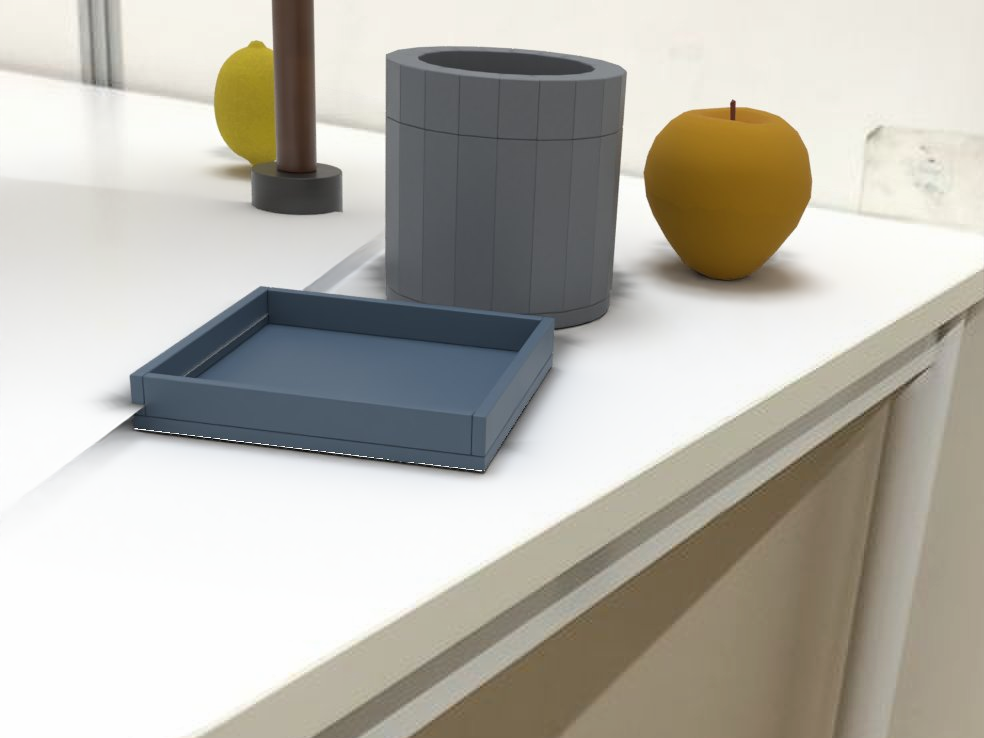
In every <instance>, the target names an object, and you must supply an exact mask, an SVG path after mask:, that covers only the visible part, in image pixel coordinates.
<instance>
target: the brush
mask: <svg viewBox="0 0 984 738" xmlns="http://www.w3.org/2000/svg"><path fill="white" fill-rule="evenodd" d="M271 24H272V25H271V26H272V50H273V64H274V99H275V133H276V160H275V161H274V162H266V163H260V164H257V165H254V166H252V165H251V167H250V188H251V205H252V206H253V208H255V209H257V210H260V211H264V212H268V213H272V214H281V215H293V216H314V215H325V214H326V215H327V214H331V213H336V212H337V213H343V212H344V210H343V209H344V207H343V206H344V203H343V201H344V199H343V198H344V197H343V170H342V169H341V168H339V167H337V166H334V165H331V164H328V163H327V164H326V163H323V162H322V163H321V162H317V160H318V159H317V156H318V155H317V152H318V151H317V104H316V101H317V98H316V94H317V93H316V46H315V45H316V41H315V36H316V35H315V0H271Z"/></svg>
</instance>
